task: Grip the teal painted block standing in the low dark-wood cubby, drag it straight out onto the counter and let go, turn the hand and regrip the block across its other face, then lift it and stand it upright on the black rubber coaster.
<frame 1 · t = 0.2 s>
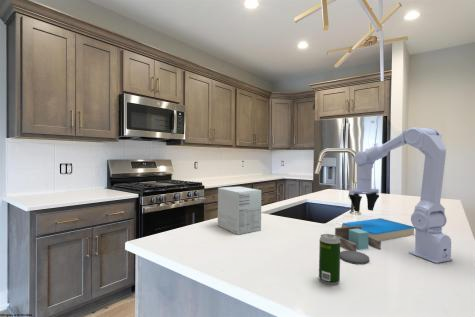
hand: (363, 210, 115), 10 cm above the counter, tool pointing down, fingers open, 7 cm apart
block: (358, 238, 99), in the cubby
supplement box: (238, 228, 122), on the counter
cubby: (358, 246, 99), on the counter
book: (377, 234, 117), on the counter
beer can: (329, 281, 72), on the counter
coaster: (354, 258, 88), on the counter
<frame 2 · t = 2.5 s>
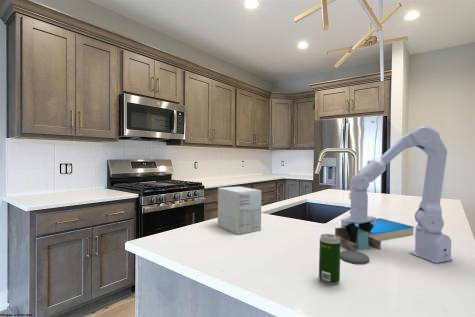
hand: (358, 242, 99), 1 cm above the counter, tool pointing down, fingers closed on block, 4 cm apart
block: (358, 238, 99), in the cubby, touching gripper
everything else where it was.
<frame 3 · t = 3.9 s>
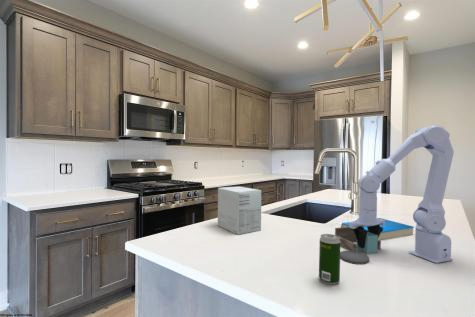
hand: (366, 246, 95), 1 cm above the counter, tool pointing down, fingers closed on block, 4 cm apart
block: (366, 242, 95), on the counter, touching gripper
everything else where it was.
when the fingers open (1 cm above the counter, at t = 5.5 s): block stays where it is, on the counter.
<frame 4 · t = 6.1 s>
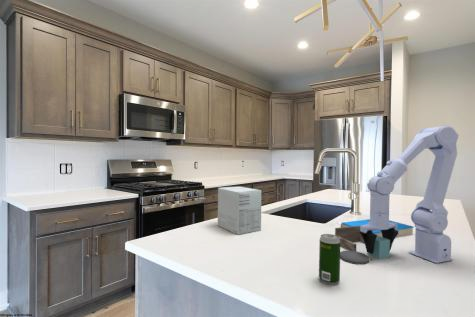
hand: (378, 251, 90), 1 cm above the counter, tool pointing down, fingers open, 7 cm apart
block: (378, 247, 91), on the counter
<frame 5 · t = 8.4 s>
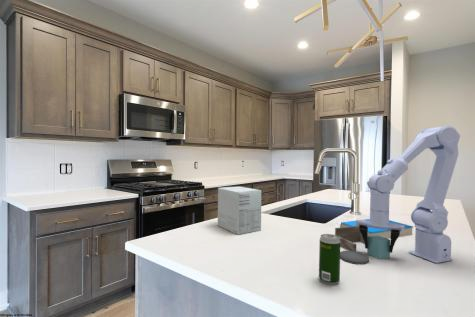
hand: (378, 249, 90), 2 cm above the counter, tool pointing down, fingers closed on block, 7 cm apart
block: (378, 246, 90), on the counter, touching gripper
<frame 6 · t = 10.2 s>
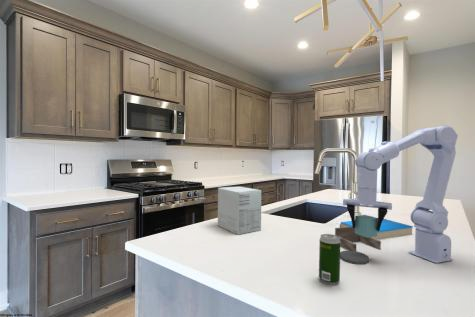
hand: (365, 228, 89), 10 cm above the counter, tool pointing down, fingers closed on block, 7 cm apart
block: (366, 225, 89), point 10 cm above the counter, touching gripper
when the fingers open (4 cm above the counter, at t = 12.2 s): block drops 1 cm, resting on coaster.
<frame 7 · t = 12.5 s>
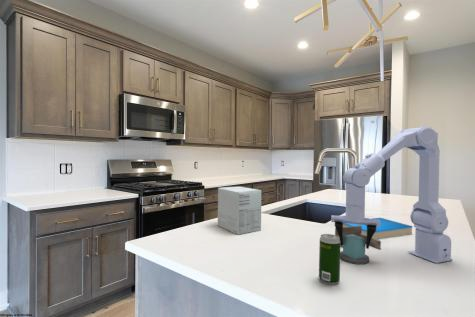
hand: (354, 245, 88), 4 cm above the counter, tool pointing down, fingers open, 7 cm apart
block: (354, 246, 88), on the coaster, point 4 cm above the counter
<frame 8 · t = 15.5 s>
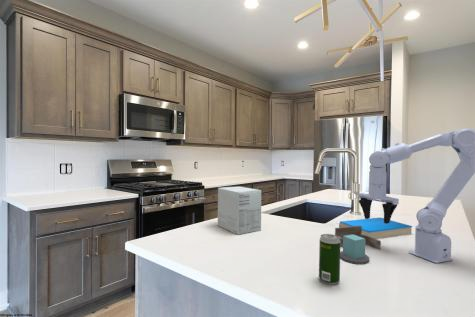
hand: (376, 220, 98), 10 cm above the counter, tool pointing down, fingers open, 7 cm apart
at the end: block 0.2 cm off-centre on the coaster, point 4.0 cm above the coaster's base; block tilted 0°; the gripper is holding nothing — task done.
